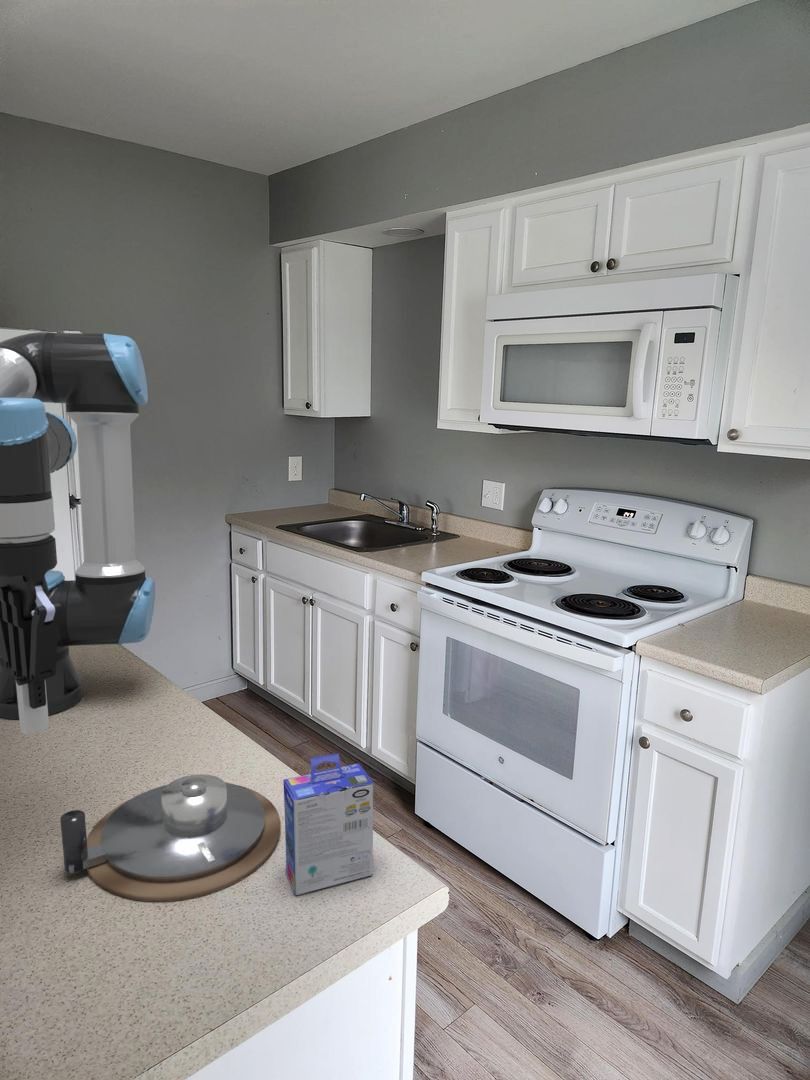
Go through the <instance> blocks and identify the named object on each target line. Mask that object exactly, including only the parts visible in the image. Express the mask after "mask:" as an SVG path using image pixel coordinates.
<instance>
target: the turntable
mask: <svg viewBox="0 0 810 1080" xmlns="http://www.w3.org/2000/svg"><path fill="white" fill-rule="evenodd" d="M224 782H225V784H226V789H227V819H226V821H225V823H224V824H223V825H222V826H221V827H220V828H219V829H217V830H215V831H214V832H212V833H209V834H207V835H203V836H199V837H192V838H183V837H177V836H173V835H171V834H169V833H168V832H166V831H165V829H164V828H163V821H162V801H161V793H162V791H163V789H164V788H165V787H166V786H167V785H168V784H164V785H162V786H161V785H160V786H157V787H156V788H155V787H154V788H152V789H149V790H146V791H144V792H142V793H140V794H138V795H136V796H133V797H132V798H130V799H128V800H129V801H128V800H126V801H127V802H126V801H125V802H126V803H124V802H123V803H124V804H123V803H122V804H123V805H121V804H120V805H121V806H120V807H119V808H118V809H117V810H115V811H114V812H113V813H112V814H111V816H110V817H109V818H108V819H107V821H106V822H105V824H104V826H103V829H102V832H101V844H99V845H95V846H92V847H89V848H87V837H88V834H87V825H86V823H87V822H86V814H85V812H84V811H83V810H80V809H73V810H71V811H67V812H65V813H62V815H61V816H60V831H61V841H62V852H63V853H62V854H63V865H64V866H63V867H64V871H65V872H66V873H69V874H76V873H80V872H83V871H84V870H86V868H89V867H92V866H95V865H98V864H101V863H104V862H107V863H108V864H109V866H110V867H111V868H113V869H114V870H116V871H117V872H119V873H121V874H123V875H125V876H127V877H130V878H133V879H137V880H142V881H150V882H177V881H184V880H191V879H195V878H199V877H203V876H206V875H209V874H212V873H215V872H218V871H220V870H222V869H225V868H227V867H228V866H230V865H232V864H234V863H236V862H237V861H239V860H240V859H242V858H243V857H244V856H246V855H247V854H248V853H249V852H250V851H251V850H252V849H253V848H254V847H255V846H256V845H257V843H258V842H259V841H260V839H261V837H262V835H263V832H264V828H265V812H264V807H263V805H262V803H261V801H260V800H259V799H258V798H257V797H256V796H255V795H254V794H253V793H251V792H250V791H248V790H247V789H245V788H243V787H244V786H243V787H240V786H241V785H239V786H237V785H238V784H234V783H231V782H226V781H224Z"/></svg>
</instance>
